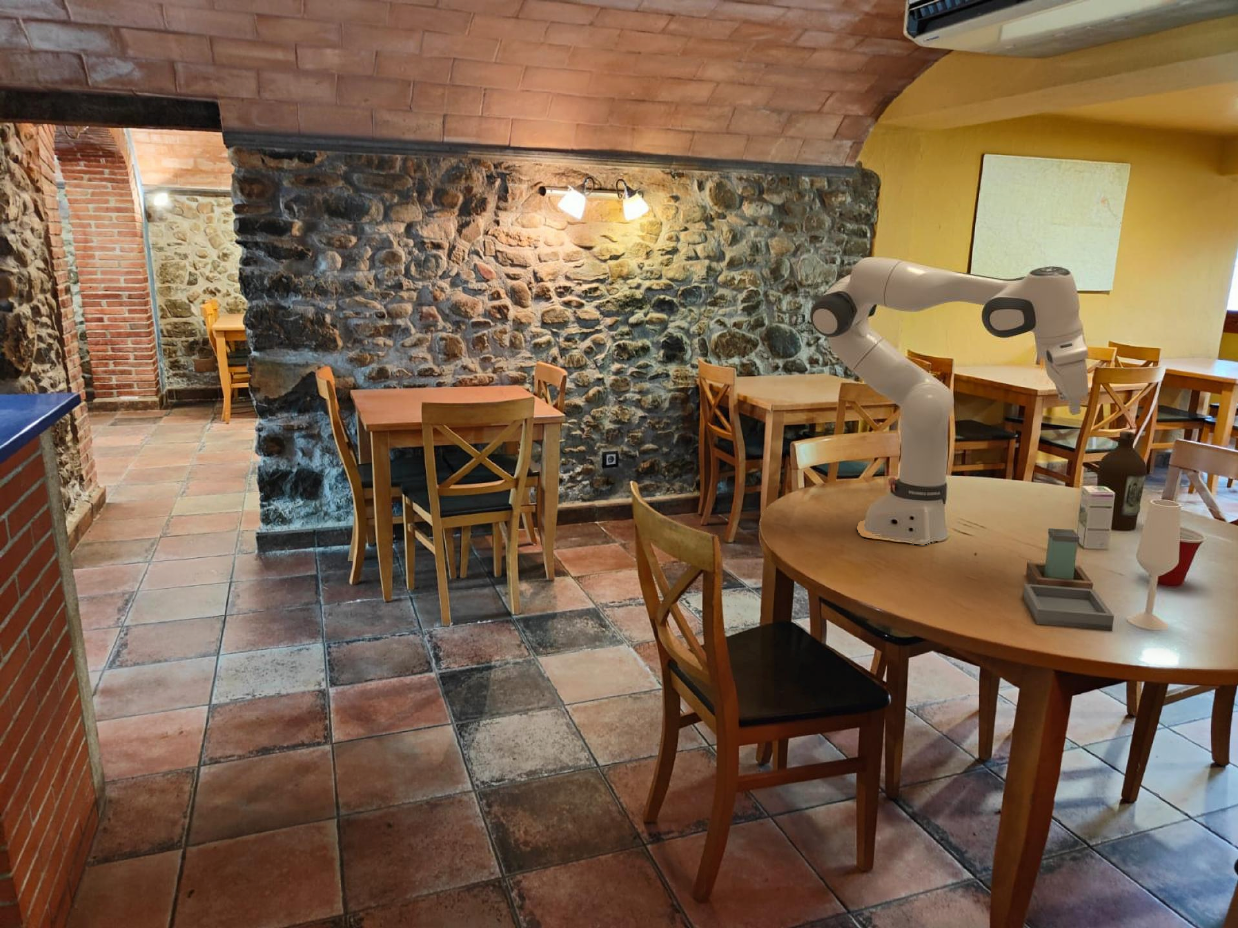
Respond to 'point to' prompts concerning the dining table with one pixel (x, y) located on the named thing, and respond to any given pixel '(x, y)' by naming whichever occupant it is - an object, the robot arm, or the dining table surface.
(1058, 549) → the pin
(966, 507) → the dining table surface
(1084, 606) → the grey tray
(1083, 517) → the syrup box
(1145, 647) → the dining table surface
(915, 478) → the robot arm
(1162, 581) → the plastic cup
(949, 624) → the dining table surface
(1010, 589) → the dining table surface
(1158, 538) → the champagne flute
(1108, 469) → the olive oil
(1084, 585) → the walnut collar
